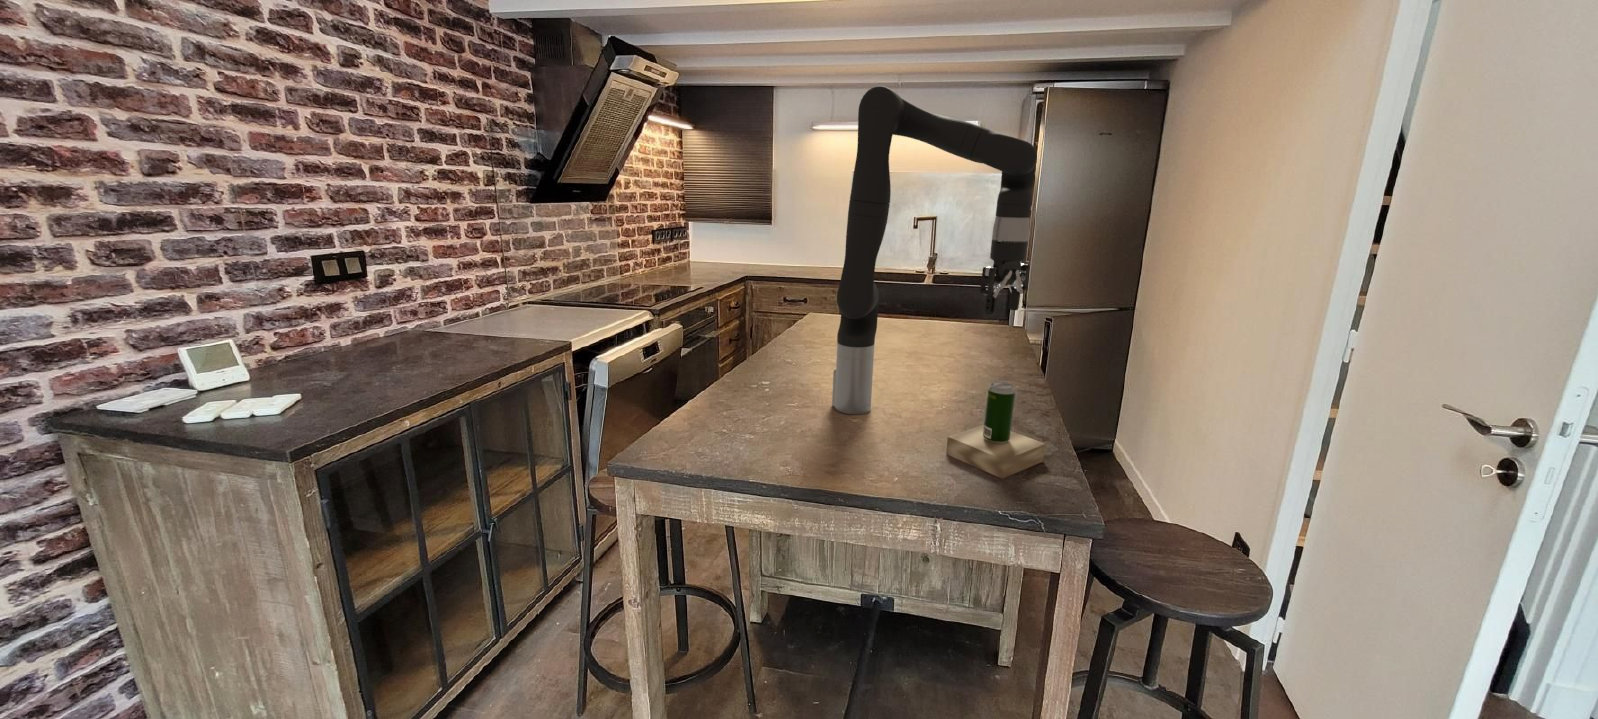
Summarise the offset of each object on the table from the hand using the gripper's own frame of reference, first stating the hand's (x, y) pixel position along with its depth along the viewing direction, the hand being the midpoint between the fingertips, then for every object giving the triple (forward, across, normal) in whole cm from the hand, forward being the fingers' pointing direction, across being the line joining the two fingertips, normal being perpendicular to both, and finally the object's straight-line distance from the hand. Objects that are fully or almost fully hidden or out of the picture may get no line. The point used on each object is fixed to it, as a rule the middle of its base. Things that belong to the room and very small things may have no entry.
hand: (1001, 311), depth 138 cm
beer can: (+24, +13, +11) cm, 30 cm away
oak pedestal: (+28, +13, +11) cm, 33 cm away
